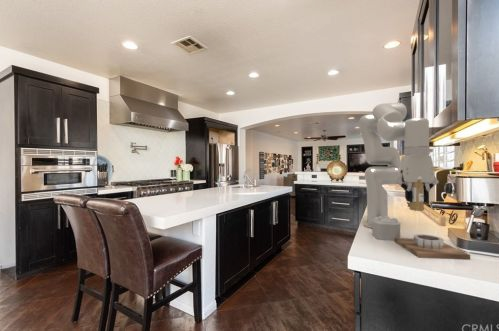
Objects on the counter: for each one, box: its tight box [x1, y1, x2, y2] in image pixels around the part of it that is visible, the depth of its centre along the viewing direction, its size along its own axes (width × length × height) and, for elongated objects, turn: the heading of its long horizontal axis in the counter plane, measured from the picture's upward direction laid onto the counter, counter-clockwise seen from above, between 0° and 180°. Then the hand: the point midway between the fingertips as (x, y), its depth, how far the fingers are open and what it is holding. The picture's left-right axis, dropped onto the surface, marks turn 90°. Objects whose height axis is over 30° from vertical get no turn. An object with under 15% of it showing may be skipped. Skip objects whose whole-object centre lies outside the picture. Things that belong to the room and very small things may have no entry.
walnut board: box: [393, 237, 471, 260], centre depth 91 cm, size 18×16×2 cm
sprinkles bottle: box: [409, 176, 425, 212], centre depth 89 cm, size 5×5×14 cm
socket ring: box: [413, 233, 444, 250], centre depth 91 cm, size 9×9×3 cm
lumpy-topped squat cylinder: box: [371, 215, 401, 242], centre depth 109 cm, size 10×13×9 cm
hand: (416, 200), depth 89 cm, fingers closed on sprinkles bottle, 4 cm apart
